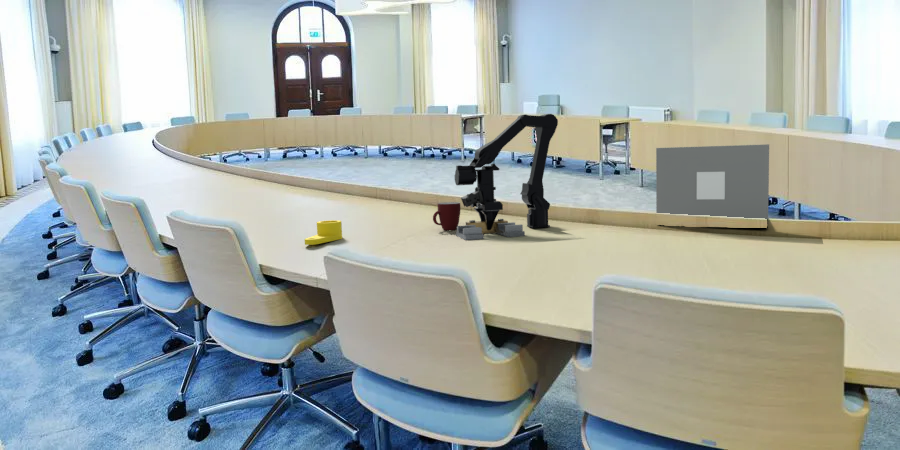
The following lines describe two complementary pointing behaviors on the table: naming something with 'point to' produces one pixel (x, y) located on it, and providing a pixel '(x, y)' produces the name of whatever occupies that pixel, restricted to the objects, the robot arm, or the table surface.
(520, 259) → the table surface
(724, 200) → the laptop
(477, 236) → the pair of grey blocks
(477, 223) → the link
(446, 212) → the mug
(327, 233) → the crank
